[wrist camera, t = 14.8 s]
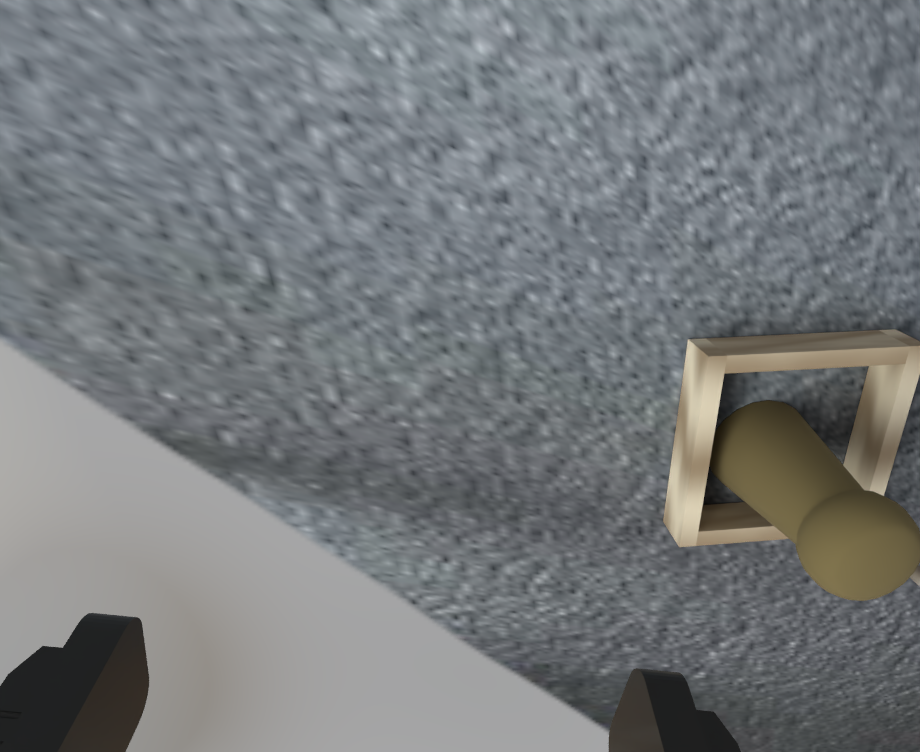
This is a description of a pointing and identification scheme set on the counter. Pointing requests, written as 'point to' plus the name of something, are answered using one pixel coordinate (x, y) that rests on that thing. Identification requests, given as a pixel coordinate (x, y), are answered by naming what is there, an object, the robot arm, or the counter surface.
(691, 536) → the wooden square frame
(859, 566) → the cork
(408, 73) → the counter surface
